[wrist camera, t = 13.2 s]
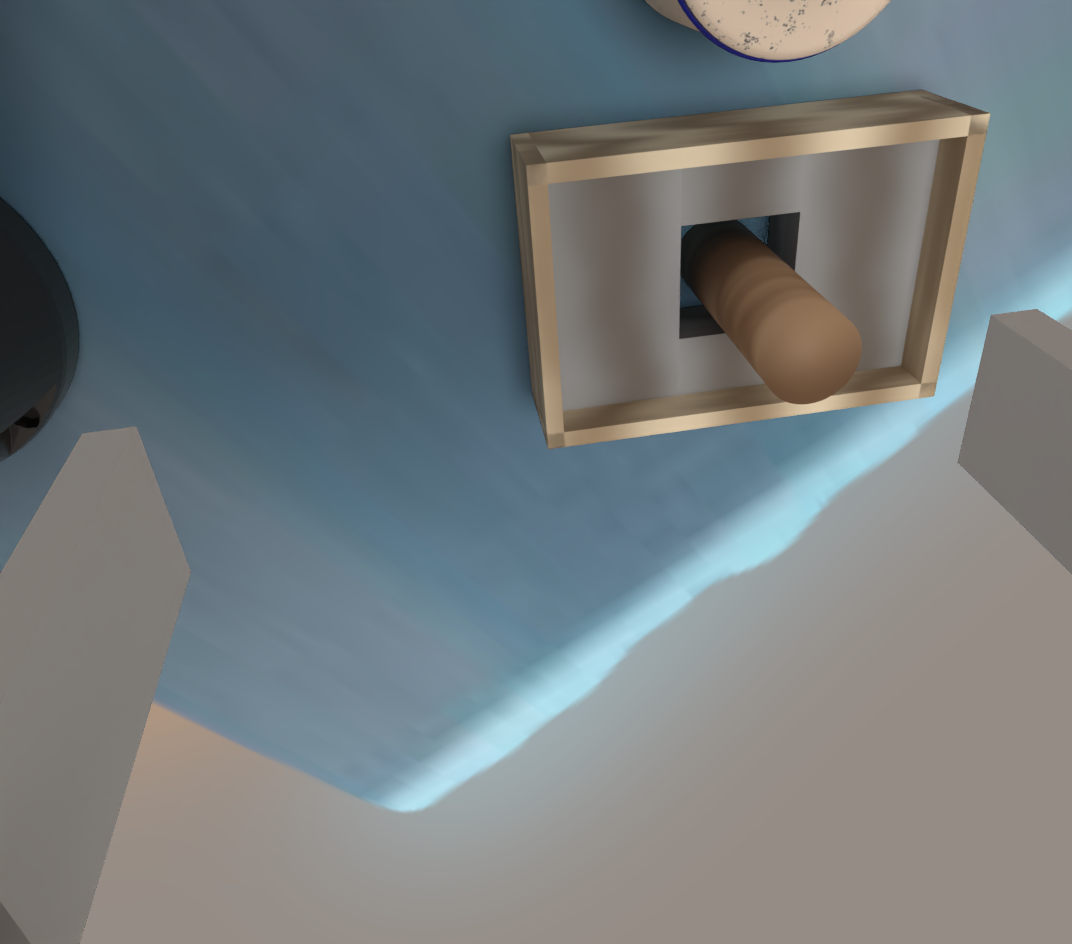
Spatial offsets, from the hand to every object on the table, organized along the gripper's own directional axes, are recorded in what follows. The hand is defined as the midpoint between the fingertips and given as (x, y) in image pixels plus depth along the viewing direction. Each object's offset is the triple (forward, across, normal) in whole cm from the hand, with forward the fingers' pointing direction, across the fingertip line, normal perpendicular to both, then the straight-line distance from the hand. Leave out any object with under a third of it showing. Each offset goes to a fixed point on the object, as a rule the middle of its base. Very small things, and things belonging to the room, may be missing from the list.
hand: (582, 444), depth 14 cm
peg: (+29, +12, -8) cm, 32 cm away
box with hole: (+29, +12, -8) cm, 32 cm away
